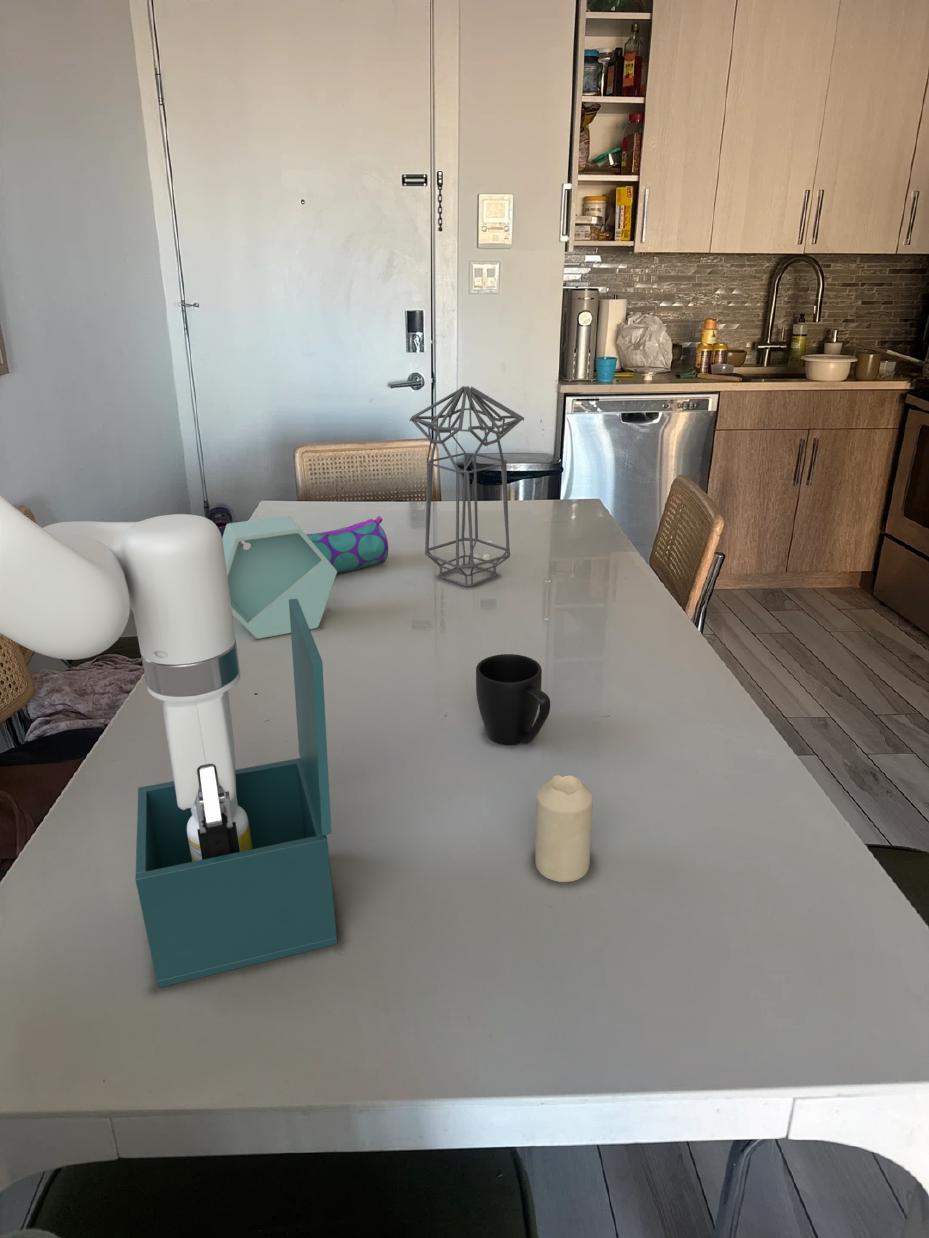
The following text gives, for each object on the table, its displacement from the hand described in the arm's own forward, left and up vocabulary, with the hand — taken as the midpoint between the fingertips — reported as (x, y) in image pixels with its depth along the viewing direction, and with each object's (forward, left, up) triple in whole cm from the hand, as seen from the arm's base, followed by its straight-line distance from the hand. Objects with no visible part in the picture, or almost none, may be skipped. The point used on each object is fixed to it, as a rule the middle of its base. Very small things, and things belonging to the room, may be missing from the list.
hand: (220, 841), depth 79 cm
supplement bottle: (0, 0, -5) cm, 5 cm away
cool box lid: (+7, +5, +12) cm, 15 cm away
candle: (+29, +16, -9) cm, 34 cm away
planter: (-27, +62, -9) cm, 69 cm away
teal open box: (+1, +1, -9) cm, 9 cm away
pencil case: (-29, +88, -9) cm, 93 cm away
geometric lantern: (-3, +92, -9) cm, 93 cm away
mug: (+19, +38, -9) cm, 43 cm away
